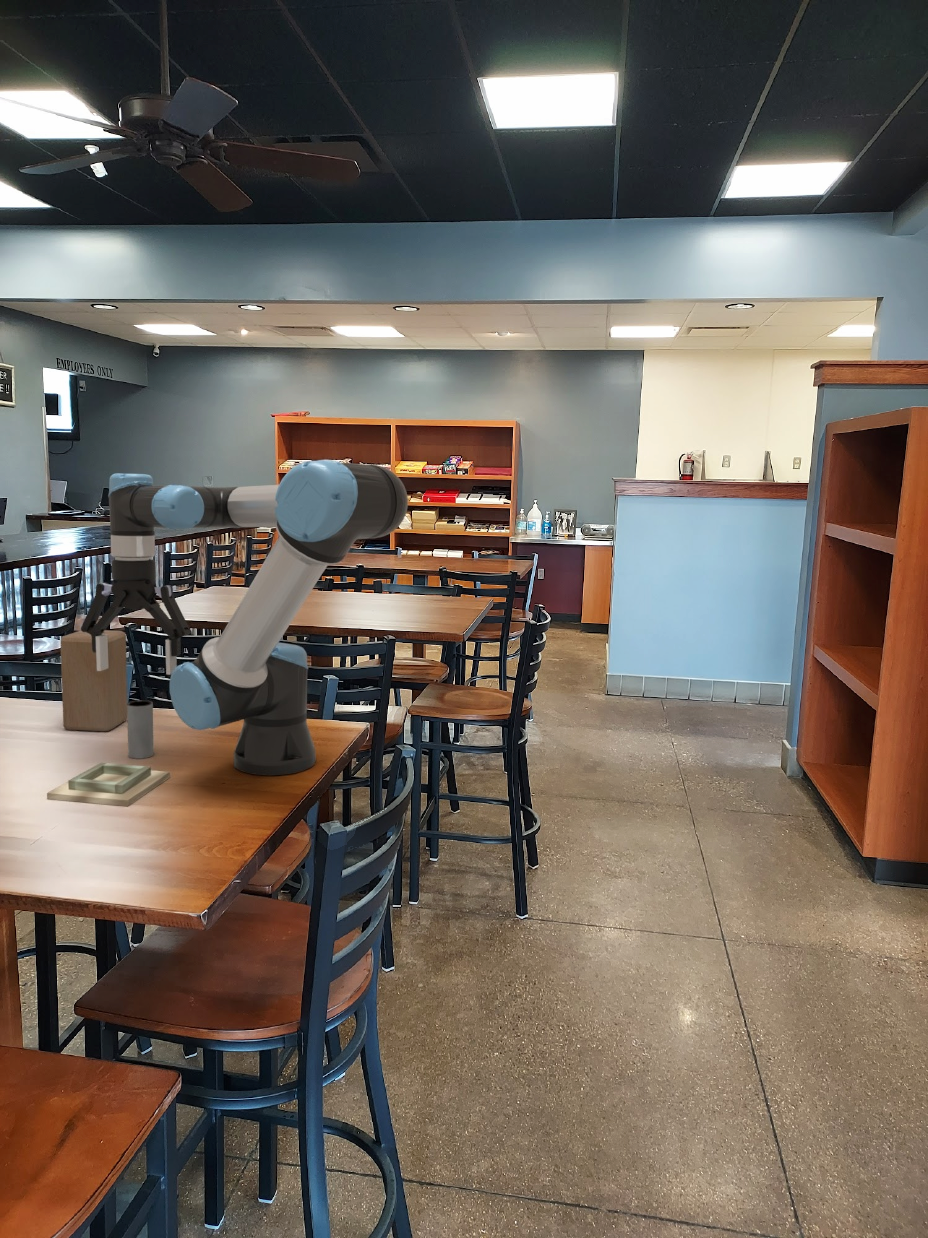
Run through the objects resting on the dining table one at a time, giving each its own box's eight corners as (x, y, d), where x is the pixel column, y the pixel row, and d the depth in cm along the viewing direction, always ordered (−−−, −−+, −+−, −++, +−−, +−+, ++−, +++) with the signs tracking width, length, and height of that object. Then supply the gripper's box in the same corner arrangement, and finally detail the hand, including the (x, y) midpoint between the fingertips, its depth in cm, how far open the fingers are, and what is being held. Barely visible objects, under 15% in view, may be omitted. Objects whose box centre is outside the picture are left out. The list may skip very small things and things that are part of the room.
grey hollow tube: (158, 754, 157) (158, 702, 155) (140, 760, 153) (139, 707, 151) (141, 750, 159) (140, 698, 157) (122, 756, 154) (121, 703, 153)
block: (109, 733, 169) (106, 638, 166) (61, 730, 169) (58, 636, 166) (129, 720, 179) (127, 630, 176) (84, 718, 179) (81, 628, 176)
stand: (169, 777, 144) (169, 763, 144) (127, 806, 131) (127, 791, 130) (96, 770, 146) (96, 757, 146) (47, 799, 132) (46, 784, 132)
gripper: (207, 559, 152) (209, 670, 155) (81, 554, 155) (85, 664, 158) (189, 562, 145) (191, 678, 148) (57, 557, 147) (62, 672, 150)
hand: (137, 671), depth 153 cm, fingers open, 13 cm apart
